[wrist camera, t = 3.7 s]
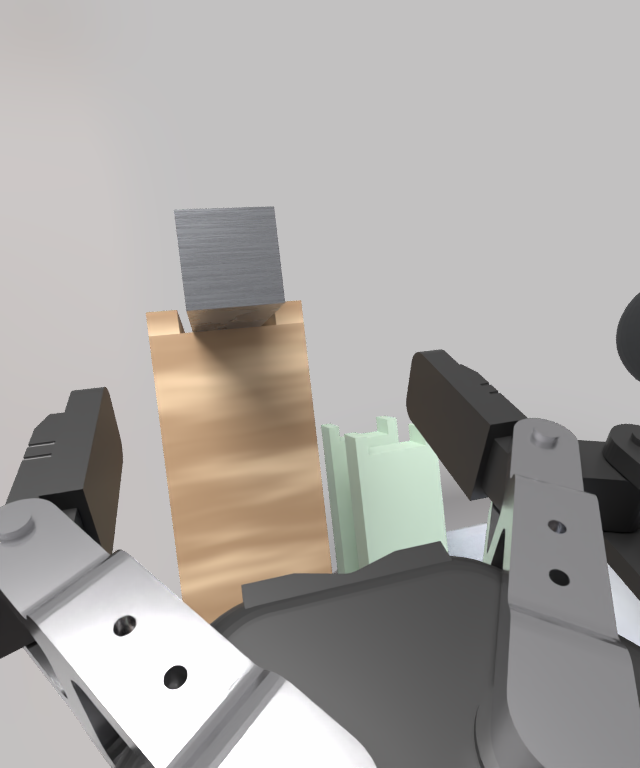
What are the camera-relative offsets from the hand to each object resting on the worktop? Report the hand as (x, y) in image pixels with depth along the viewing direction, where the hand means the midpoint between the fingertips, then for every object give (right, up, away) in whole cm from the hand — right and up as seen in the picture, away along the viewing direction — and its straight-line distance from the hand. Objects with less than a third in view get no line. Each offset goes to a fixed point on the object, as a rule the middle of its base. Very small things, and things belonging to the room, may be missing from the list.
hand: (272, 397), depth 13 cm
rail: (-4, +3, +15) cm, 16 cm away
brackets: (+9, -27, +32) cm, 43 cm away
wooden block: (-1, -28, +19) cm, 34 cm away
